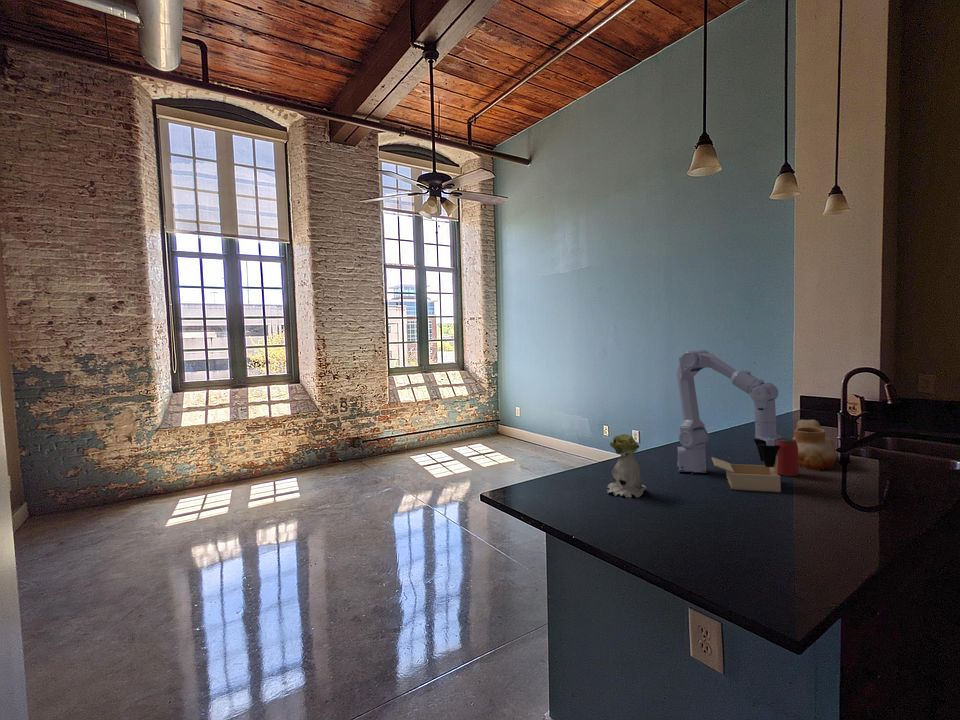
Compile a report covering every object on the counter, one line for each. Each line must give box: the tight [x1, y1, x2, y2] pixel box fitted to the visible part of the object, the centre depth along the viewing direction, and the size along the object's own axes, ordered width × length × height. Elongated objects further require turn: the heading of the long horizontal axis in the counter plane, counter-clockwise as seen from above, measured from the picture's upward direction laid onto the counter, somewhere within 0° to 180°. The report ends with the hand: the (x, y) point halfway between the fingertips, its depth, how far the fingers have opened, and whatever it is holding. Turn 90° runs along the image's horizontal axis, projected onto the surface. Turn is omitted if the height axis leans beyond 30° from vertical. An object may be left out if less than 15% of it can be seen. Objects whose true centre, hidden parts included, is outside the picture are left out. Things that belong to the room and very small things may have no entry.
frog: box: [606, 433, 647, 499], centre depth 148 cm, size 12×13×18 cm
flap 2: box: [770, 455, 778, 474], centre depth 146 cm, size 6×11×1 cm
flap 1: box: [711, 456, 734, 473], centre depth 151 cm, size 6×11×1 cm, turn 157°
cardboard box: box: [725, 463, 782, 493], centre depth 148 cm, size 13×13×5 cm
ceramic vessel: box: [791, 419, 837, 470], centre depth 172 cm, size 14×26×15 cm, turn 148°
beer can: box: [775, 437, 800, 477], centre depth 158 cm, size 7×7×12 cm
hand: (767, 464), depth 146 cm, fingers open, 7 cm apart
